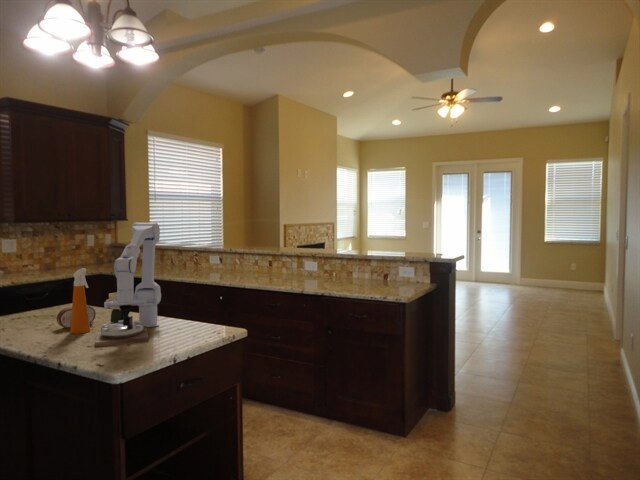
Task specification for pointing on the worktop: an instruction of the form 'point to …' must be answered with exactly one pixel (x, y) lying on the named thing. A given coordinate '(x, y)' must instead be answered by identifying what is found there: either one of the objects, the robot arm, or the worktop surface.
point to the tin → (66, 315)
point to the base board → (121, 339)
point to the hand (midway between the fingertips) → (125, 325)
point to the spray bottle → (79, 304)
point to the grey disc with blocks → (122, 329)
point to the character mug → (115, 309)
